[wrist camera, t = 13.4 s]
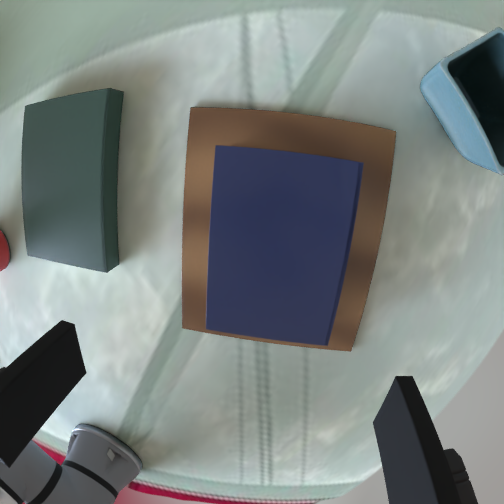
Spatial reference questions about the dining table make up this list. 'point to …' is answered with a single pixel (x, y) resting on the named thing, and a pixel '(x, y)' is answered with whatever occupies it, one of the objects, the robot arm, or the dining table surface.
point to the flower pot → (472, 99)
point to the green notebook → (72, 179)
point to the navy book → (279, 242)
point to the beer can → (4, 252)
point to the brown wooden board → (293, 140)
